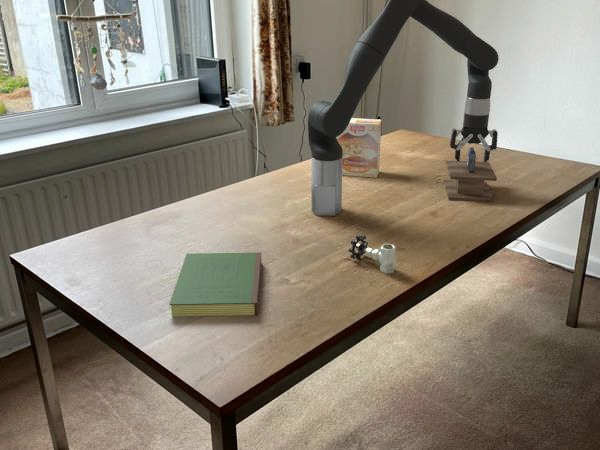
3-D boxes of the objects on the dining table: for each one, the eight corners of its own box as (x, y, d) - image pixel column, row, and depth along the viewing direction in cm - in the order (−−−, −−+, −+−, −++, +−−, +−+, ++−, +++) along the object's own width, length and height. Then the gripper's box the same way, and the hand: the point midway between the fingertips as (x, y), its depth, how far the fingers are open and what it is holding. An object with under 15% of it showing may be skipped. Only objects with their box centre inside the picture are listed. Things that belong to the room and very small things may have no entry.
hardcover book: (257, 317, 130) (256, 302, 129) (170, 319, 130) (169, 304, 128) (261, 264, 153) (261, 251, 152) (188, 265, 153) (187, 252, 151)
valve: (401, 268, 149) (364, 253, 157) (403, 245, 147) (365, 230, 154) (385, 278, 145) (348, 262, 153) (386, 253, 142) (348, 238, 150)
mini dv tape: (466, 164, 198) (468, 147, 196) (471, 165, 198) (473, 147, 195) (469, 172, 191) (471, 154, 188) (474, 173, 190) (476, 155, 188)
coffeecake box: (335, 175, 214) (336, 121, 206) (338, 168, 221) (339, 116, 213) (377, 178, 211) (379, 123, 203) (379, 171, 217) (382, 118, 209)
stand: (493, 201, 189) (496, 177, 186) (448, 199, 191) (450, 176, 188) (486, 184, 204) (488, 162, 201) (444, 182, 206) (446, 160, 202)
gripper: (498, 109, 189) (492, 158, 196) (452, 108, 191) (447, 157, 198) (502, 114, 182) (496, 165, 189) (454, 113, 184) (449, 164, 191)
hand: (471, 161), depth 193 cm, fingers open, 8 cm apart
